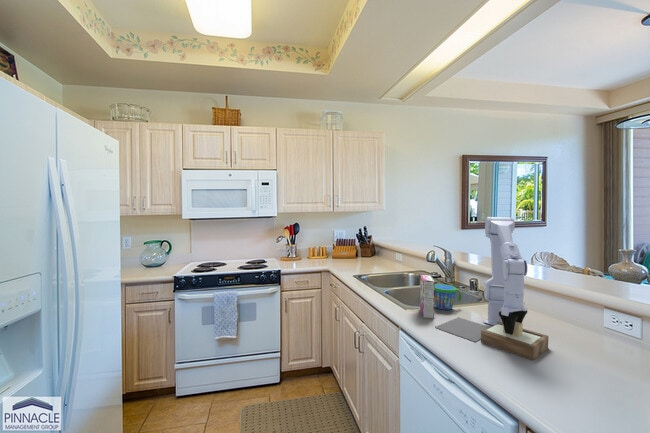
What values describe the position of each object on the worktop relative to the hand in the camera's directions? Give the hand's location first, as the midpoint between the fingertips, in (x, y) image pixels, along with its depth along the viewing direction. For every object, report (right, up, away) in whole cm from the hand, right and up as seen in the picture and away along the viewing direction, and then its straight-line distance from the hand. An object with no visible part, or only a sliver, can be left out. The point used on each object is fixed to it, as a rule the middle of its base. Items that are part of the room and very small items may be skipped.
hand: (512, 331), depth 105 cm
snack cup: (-9, -4, +38) cm, 39 cm away
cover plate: (0, -2, 0) cm, 2 cm away
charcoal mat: (-10, -4, +13) cm, 17 cm away
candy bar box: (-20, -4, +29) cm, 36 cm away
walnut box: (0, -5, 0) cm, 5 cm away
